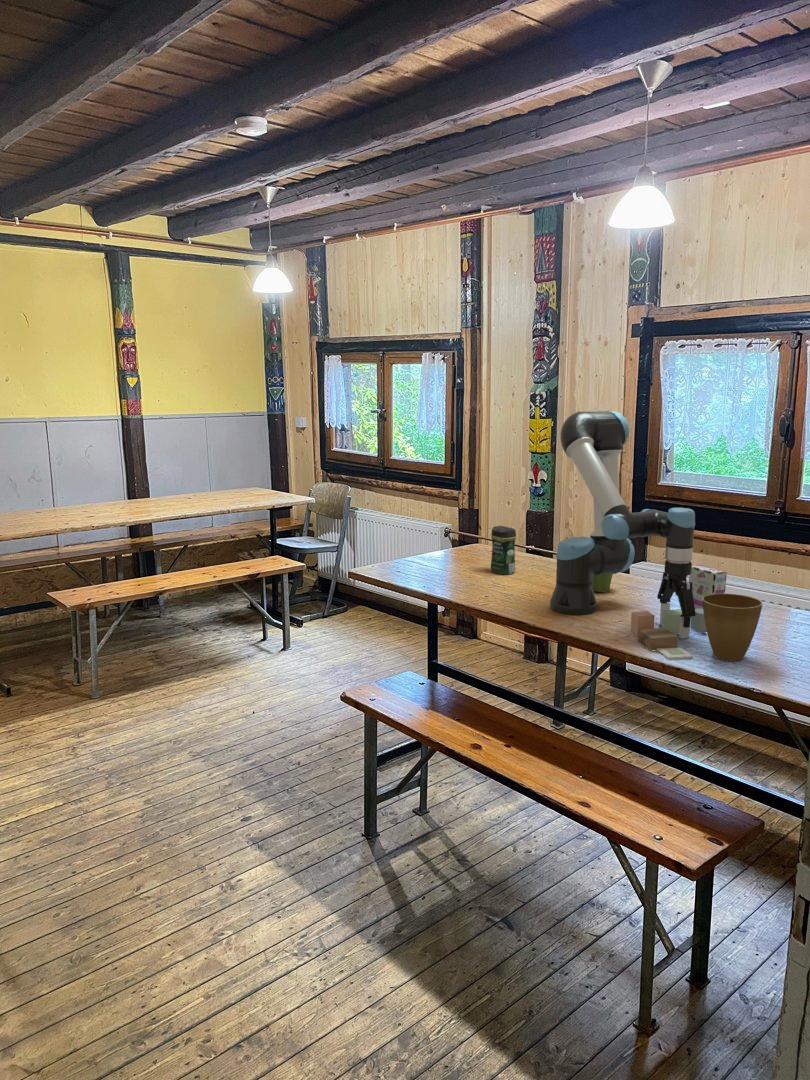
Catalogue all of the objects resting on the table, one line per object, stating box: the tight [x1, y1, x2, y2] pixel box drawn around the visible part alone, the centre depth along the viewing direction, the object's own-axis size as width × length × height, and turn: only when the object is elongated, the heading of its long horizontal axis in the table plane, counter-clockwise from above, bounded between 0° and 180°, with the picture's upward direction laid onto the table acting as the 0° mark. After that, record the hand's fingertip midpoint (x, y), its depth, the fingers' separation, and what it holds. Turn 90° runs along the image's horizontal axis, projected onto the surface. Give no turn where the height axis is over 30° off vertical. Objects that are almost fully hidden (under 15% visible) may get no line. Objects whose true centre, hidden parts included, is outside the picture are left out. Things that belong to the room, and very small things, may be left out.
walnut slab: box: [637, 627, 679, 651], centre depth 214 cm, size 8×8×4 cm
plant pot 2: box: [702, 593, 763, 662], centre depth 203 cm, size 15×15×16 cm
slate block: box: [690, 609, 707, 634], centre depth 227 cm, size 5×5×6 cm
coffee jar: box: [490, 525, 517, 575], centre depth 298 cm, size 10×8×19 cm
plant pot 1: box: [592, 574, 614, 593], centre depth 272 cm, size 12×12×11 cm
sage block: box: [661, 609, 682, 635], centre depth 226 cm, size 5×5×6 cm
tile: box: [656, 646, 694, 660], centre depth 207 cm, size 7×7×1 cm
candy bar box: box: [688, 564, 727, 609], centre depth 236 cm, size 11×5×16 cm, turn 21°
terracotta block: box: [630, 610, 656, 637], centre depth 225 cm, size 5×5×6 cm
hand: (673, 630), depth 226 cm, fingers open, 12 cm apart
